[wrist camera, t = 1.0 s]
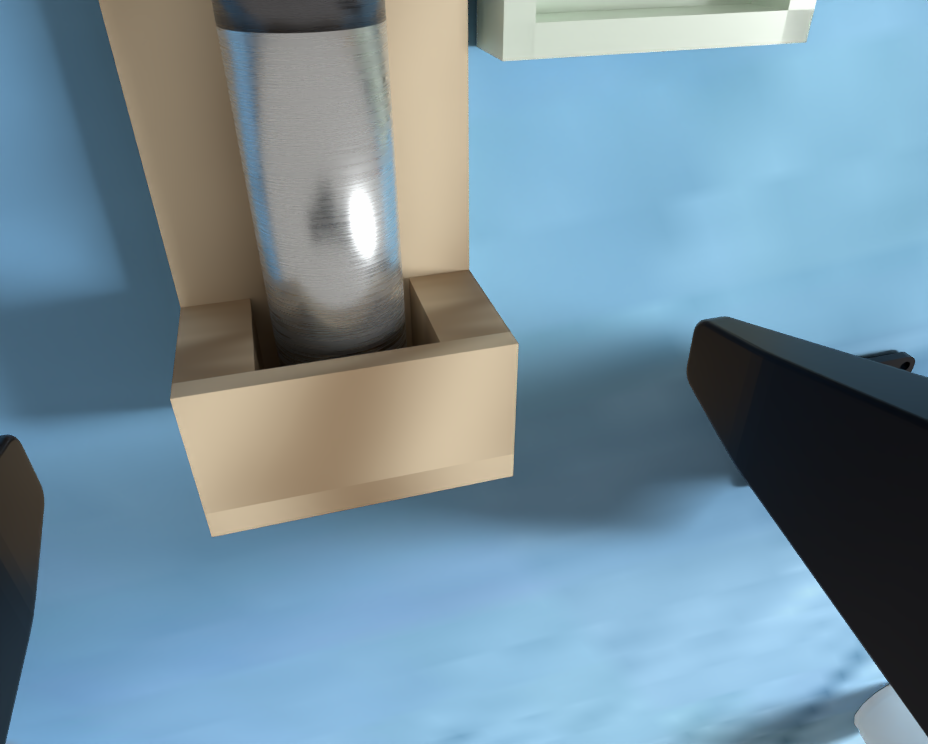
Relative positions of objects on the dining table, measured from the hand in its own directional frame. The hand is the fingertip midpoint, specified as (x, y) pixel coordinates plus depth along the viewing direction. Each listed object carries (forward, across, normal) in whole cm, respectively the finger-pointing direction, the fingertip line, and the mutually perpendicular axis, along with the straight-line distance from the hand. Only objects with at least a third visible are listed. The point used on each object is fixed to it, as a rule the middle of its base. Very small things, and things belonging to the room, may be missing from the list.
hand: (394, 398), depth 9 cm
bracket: (+12, 0, +1) cm, 12 cm away
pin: (+9, 0, 0) cm, 9 cm away
